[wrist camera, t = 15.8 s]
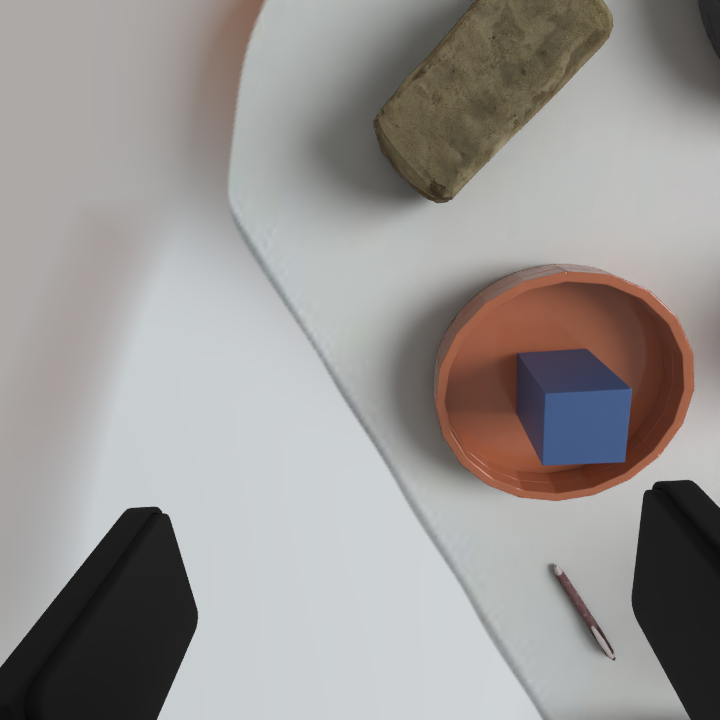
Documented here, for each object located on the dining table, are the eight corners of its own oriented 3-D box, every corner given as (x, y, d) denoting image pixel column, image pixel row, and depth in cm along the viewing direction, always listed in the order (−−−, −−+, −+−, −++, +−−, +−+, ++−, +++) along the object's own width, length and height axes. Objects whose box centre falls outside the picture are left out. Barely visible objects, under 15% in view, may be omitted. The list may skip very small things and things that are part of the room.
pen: (616, 653, 41) (621, 664, 40) (607, 656, 41) (612, 667, 40) (556, 558, 38) (560, 568, 37) (547, 562, 38) (550, 572, 37)
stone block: (590, 47, 26) (631, 19, 21) (435, 211, 30) (441, 217, 25) (517, -40, 25) (544, -90, 20) (365, 141, 29) (358, 133, 24)
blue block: (515, 413, 33) (542, 466, 27) (516, 352, 32) (544, 393, 26) (583, 410, 33) (625, 462, 27) (587, 348, 31) (632, 388, 25)
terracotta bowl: (387, 387, 34) (386, 405, 31) (553, 211, 29) (570, 214, 26) (542, 511, 36) (554, 538, 34) (718, 367, 32) (749, 385, 29)
